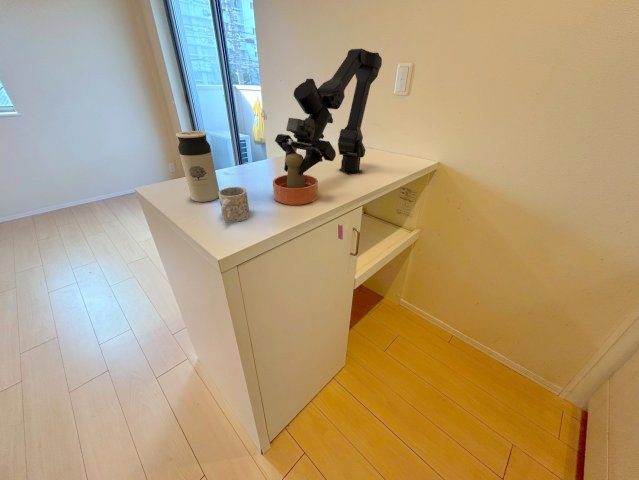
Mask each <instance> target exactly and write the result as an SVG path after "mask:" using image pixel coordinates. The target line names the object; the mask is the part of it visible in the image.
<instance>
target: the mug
mask: <svg viewBox="0 0 639 480" xmlns="http://www.w3.org/2000/svg"><path fill="white" fill-rule="evenodd" d="M218 194H219V197H218V199H219V204H220V208H221V209H220V211H221V216H222V220H223V223H225V224H228V223H230V222H233V223H235V222H241V221H245V220H247V219H248V218H249V217H250V215H251V212H250V207H249V200H248V192H247V189H246V188H245V187H241V186H228V187H225V188H222V189H219V192H218Z"/></svg>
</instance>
